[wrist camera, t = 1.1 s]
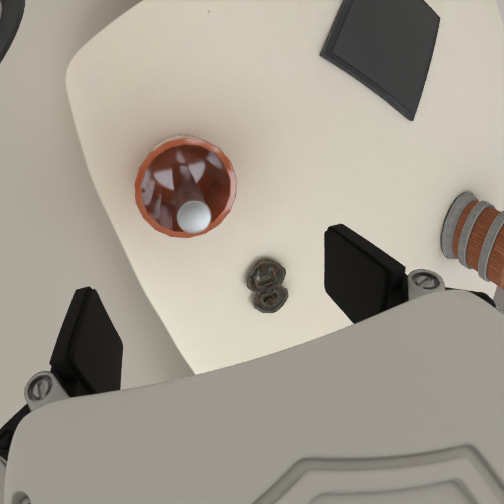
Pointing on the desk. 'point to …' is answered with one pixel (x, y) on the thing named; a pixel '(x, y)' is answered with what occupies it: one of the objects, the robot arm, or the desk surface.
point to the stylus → (189, 202)
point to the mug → (476, 237)
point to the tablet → (385, 47)
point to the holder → (204, 172)
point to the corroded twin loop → (268, 286)
